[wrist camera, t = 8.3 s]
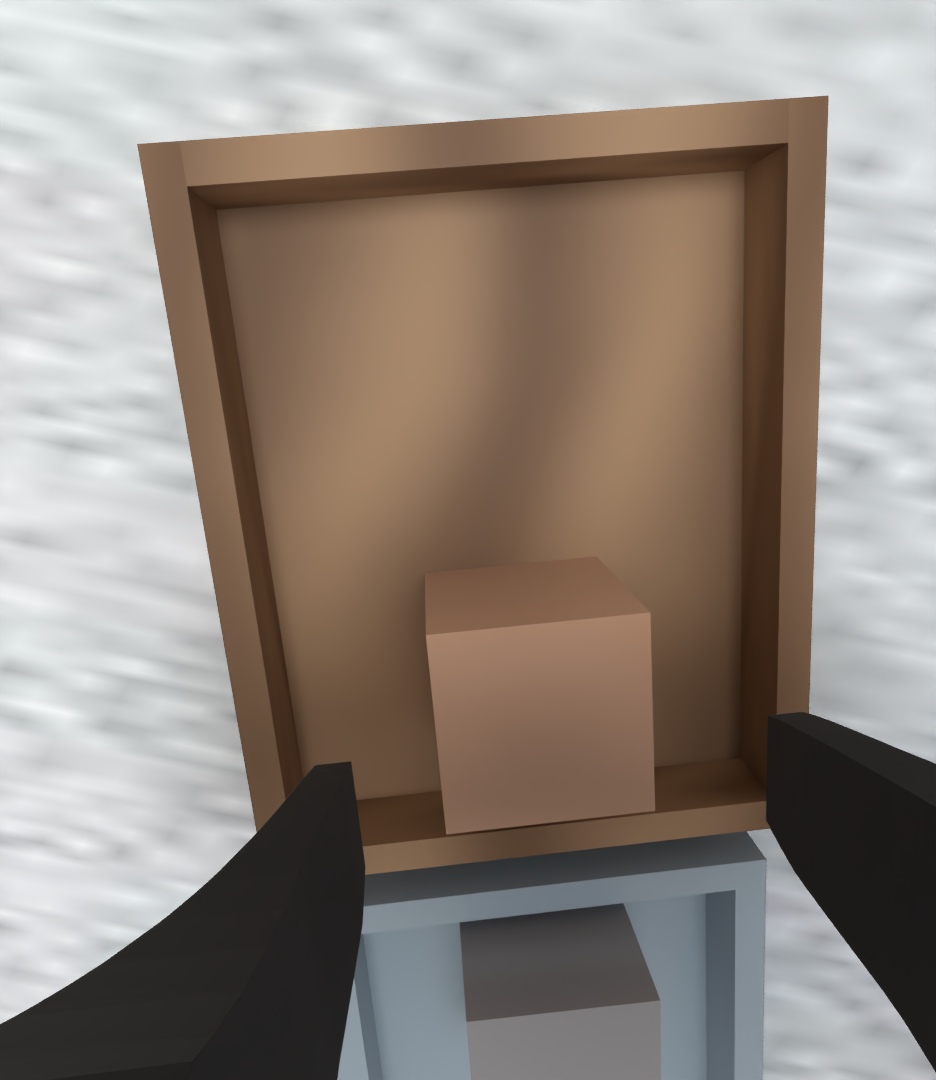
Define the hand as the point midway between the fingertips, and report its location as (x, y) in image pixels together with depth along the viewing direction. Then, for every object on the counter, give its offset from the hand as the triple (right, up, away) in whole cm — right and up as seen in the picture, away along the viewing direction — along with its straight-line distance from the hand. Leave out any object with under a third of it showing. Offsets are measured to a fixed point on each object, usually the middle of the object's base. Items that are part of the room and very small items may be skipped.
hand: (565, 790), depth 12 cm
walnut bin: (-1, +5, +6) cm, 8 cm away
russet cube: (0, +2, +7) cm, 7 cm away
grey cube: (0, -7, +9) cm, 11 cm away
